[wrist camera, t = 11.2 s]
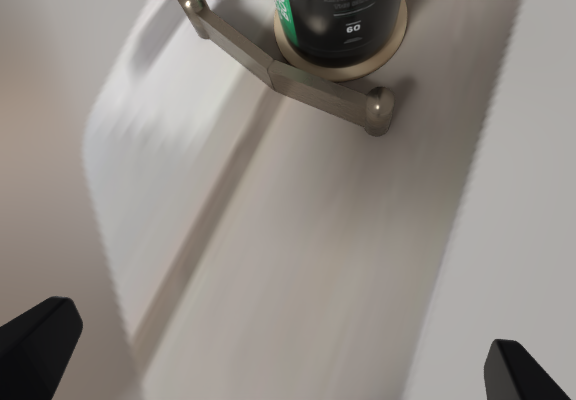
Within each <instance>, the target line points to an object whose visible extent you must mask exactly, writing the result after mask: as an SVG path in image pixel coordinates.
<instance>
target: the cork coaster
mask: <svg viewBox="0 0 576 400" xmlns="http://www.w3.org/2000/svg"><path fill="white" fill-rule="evenodd" d="M406 25H407V6H406V2H405V0H401V4H400V9H399V14H398V19H397V23H396V26H395V29H394V32H393V34H392V36H391V38H390V39H389V41H388V42H387V44H386V45H385V46H384V47H383V48H382V49H381V50H380V51H379V52H378V53H377V54H376V55H374V56H373V57H372V58H370V59H368V60H367V61H365V62H363V63H360V64H358V65H355V66H352V67H347V68H338V69H333V68H324V67H320V66H316V65H314V64H311V63H309V62H307V61H305V60H304V59H302V58H301V57H300V56H298V55H297V54H296V53H295V52H294V51H293V49H292V48H291V47H290V45H289V44H288V42H287V40H286V38H285V35H284V33H283V30H282V26H281V23H280V19H279V15H278V11H277V8H276V11H275V17H274V32H275V37H276V41H277V44H278V47H279V49H280V51H281V53H282V55H283V56H284V58H285V59H286V60H287V61H288V63H289V64H290V65H291V66H293V67H295V68H298V69H300V70H303V71H305V72H308V73H311V74H313V75H316V76H318V77H321V78H324V79H326V80H329V81H331V82H344V81H350V80H355V79H358V78H361V77H364V76H366V75H368V74H370V73H372V72H374V71H376V70H377V69H379V68H380V67H381V66H383V65H384V64H385V63H386V62H387V61H388V60H389V59H390V58H391V57H392V56H393V55H394V53H395V52H396V51H397V49H398V47H399V46H400V44H401V41H402V39H403V37H404V33H405V29H406Z"/></svg>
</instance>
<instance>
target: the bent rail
mask: <svg viewBox="0 0 576 400" xmlns="http://www.w3.org/2000/svg"><path fill="white" fill-rule="evenodd" d="M178 1H179V3H180V5H181V6H182V8H183V10H184V11H185V13H186V15H187V16H188V18H189V20H190V21H191V23H192V25H193V27H194V28H195V30H196V32H197V33H198V35H199V36H200V37H201V38H203V39H211V40H212V41H213V42H214V43H216V44H217V45H218V46H219V47H221V48H222V49H223V50H224V51H226V52H227V53H228V54H229V55H231V56H232V57H233V58H234V59H236V60H237V61H238V62H239V63H241V64H242V65H243V66H244V67H246V68H247V69H248V70H249V71H251V72H252V73H253V74H254V75H256V76H257V77H258V78H259V79H261V80H262V81H263V82H264V83H266V84H267V85H268V86H269V87H271V88H272V89H273V90H274V91H276V92H278V93H281V94H283V95H286V96H288V97H291V98H293V99H296V100H298V101H301V102H303V103H306V104H308V105H311V106H313V107H316V108H318V109H321V110H323V111H326V112H328V113H331V114H333V115H336V116H338V117H340V118H343V119H345V120H348V121H350V122H353V123H355V124H358V125H360V126H363V127H365V130H366V132H367V133H368V134H370V135H372V136H381V135H383V134H385V133H386V132H387V131H388V129H389V125H390V121H391V117H392V112H393V108H394V104H395V95H394V93H393V92H392V91H391V90H390V89H388V88H386V87H377V88H374V89H372V90H371V91H370V92H369V93H368V95H365V94H363V93H360V92H358V91H355V90H352V89H350V88H347V87H344V86H342V85H339V84H337V83H334V82H331V81H329V80H326V79H324V78H321V77H318V76H316V75H313V74H311V73H308V72H305V71H303V70H300V69H298V68H295V67H292V66H290V65H287V64H285V63H282V62H279V61H277V60H274V59H273V58H272V57H270V56H269V55H268V54H266V53H265V52H264V51H263V50H261V49H260V48H259V47H257V46H256V45H255V44H254V43H252V42H251V41H250V40H248V39H247V38H246V37H245V36H243V35H242V34H241V33H239V32H238V31H237V30H235V29H234V28H233V27H232V26H230V25H229V24H228V23H226V22H225V21H224V20H223V19H221V18H220V17H219V16H217V15H216V14H215V13H214V12H212V11H211V10H210V8H209V6H208V4H207V2H206V0H178Z"/></svg>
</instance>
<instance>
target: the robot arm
mask: <svg viewBox="0 0 576 400" xmlns="http://www.w3.org/2000/svg"><path fill="white" fill-rule="evenodd" d="M82 328H83V322H82V319H81V317H80V315H79V312H78V310H77V308H76V306H75V304H74V302H73V300H72V299H70V298H68V297H59V296H53V297H50V298H48V299H46V300H44V301H43V302H41V303H39V304H38V305H36V306H35V307H33V308H31V309H30V310H28V311H26V312H24V313H23V314H21V315H20V316H18V317H16V318H14V319H13V320H11V321H10V322H8V323H6V324H4V325H3V326H1V327H0V400H52V398H53V396H54V394H55V391H56V389H57V387H58V385H59V383H60V380H61V378H62V376H63V373H64V371H65V369H66V367H67V364H68V362H69V360H70V358H71V355H72V353H73V351H74V349H75V346H76V344H77V342H78V339H79V337H80V335H81V332H82ZM484 380H485V387H486V394H487V400H571V399H570V398H569V397H568V396H567V395H566V393H565V392H564V391H563V390H562V389H561V388H560V387H559V386H558V385H557V384H556V383H555V381H554V380H553V379H552V378H551V377H550V376H549V375H548V374H547V373H546V371H545V370H544V369H543V368H542V367H541V366H540V365H539V364H538V363H537V362H536V360H535V359H534V358H533V357H532V356H531V355H530V354H529V353H528V352H527V350H526V349H525V348H524V347H523V346H522V345H521V344H520V343H518V342H517V341H513V340H503V339H495V340H494V341H493V342H492V344H491V347H490V350H489V353H488V356H487V359H486V362H485V365H484Z"/></svg>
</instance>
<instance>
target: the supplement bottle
mask: <svg viewBox="0 0 576 400" xmlns="http://www.w3.org/2000/svg"><path fill="white" fill-rule="evenodd" d="M275 3H276V7H277V11H278V15H279V19H280V23H281V26H282V30H283V33H284V35H285V38H286V40H287V42H288V44H289V45H290V47H291V48H292V49H293V51H294V52H295V53H296V54H297V55H298V56H300V57H301V58H302V59H304V60H305V61H307V62H309V63H311V64H314V65H316V66H320V67H324V68H333V69H338V68H347V67H352V66H355V65H358V64H360V63H363V62H365V61H367V60H368V59H370V58H372V57H373V56H374V55H376V54H377V53H378V52H379V51H380V50H381V49H382V48H383V47H384V46H385V45H386V44H387V42H388V41H389V39H390V38H391V36H392V34H393V32H394V29H395V26H396V23H397V19H398V14H399V9H400V4H401V0H275Z"/></svg>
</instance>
